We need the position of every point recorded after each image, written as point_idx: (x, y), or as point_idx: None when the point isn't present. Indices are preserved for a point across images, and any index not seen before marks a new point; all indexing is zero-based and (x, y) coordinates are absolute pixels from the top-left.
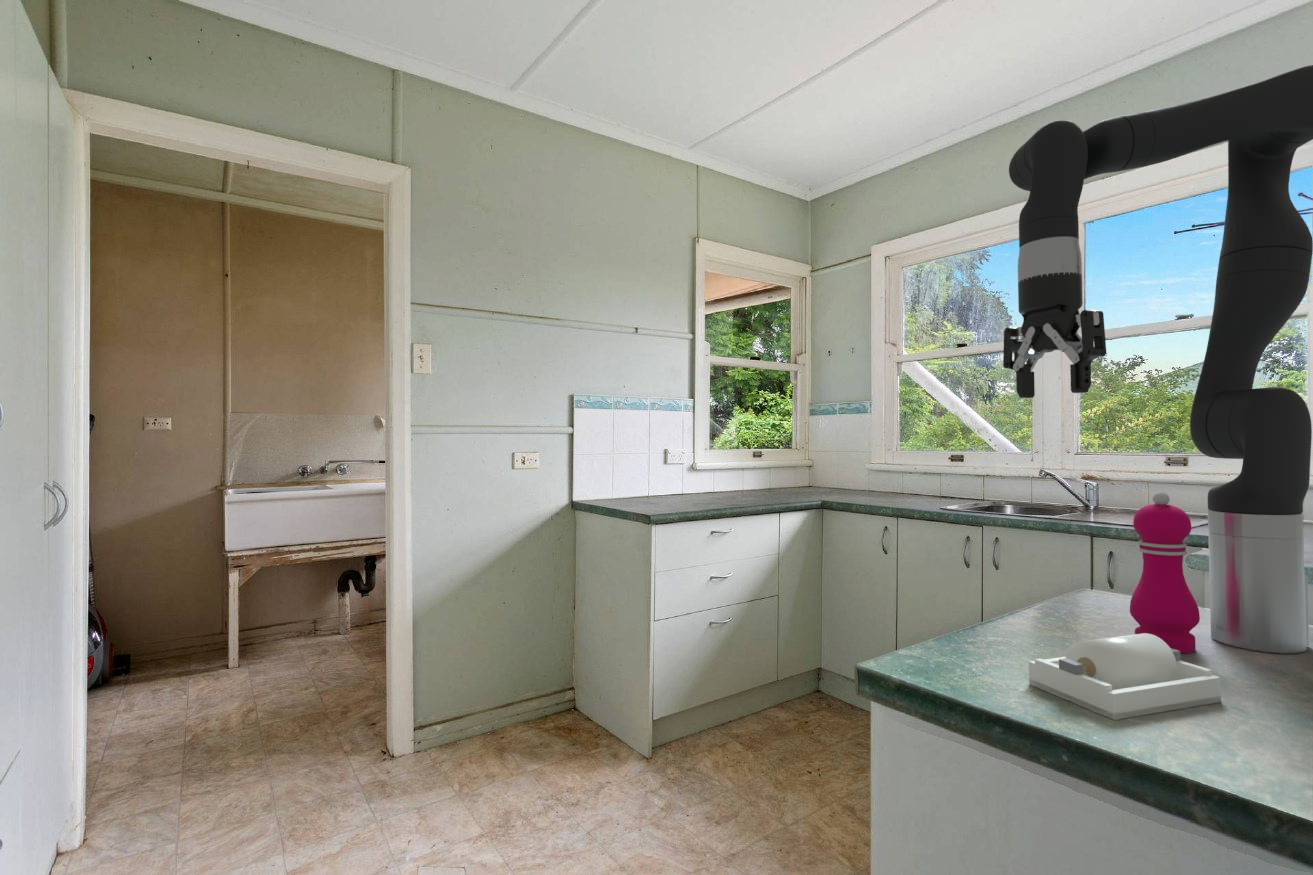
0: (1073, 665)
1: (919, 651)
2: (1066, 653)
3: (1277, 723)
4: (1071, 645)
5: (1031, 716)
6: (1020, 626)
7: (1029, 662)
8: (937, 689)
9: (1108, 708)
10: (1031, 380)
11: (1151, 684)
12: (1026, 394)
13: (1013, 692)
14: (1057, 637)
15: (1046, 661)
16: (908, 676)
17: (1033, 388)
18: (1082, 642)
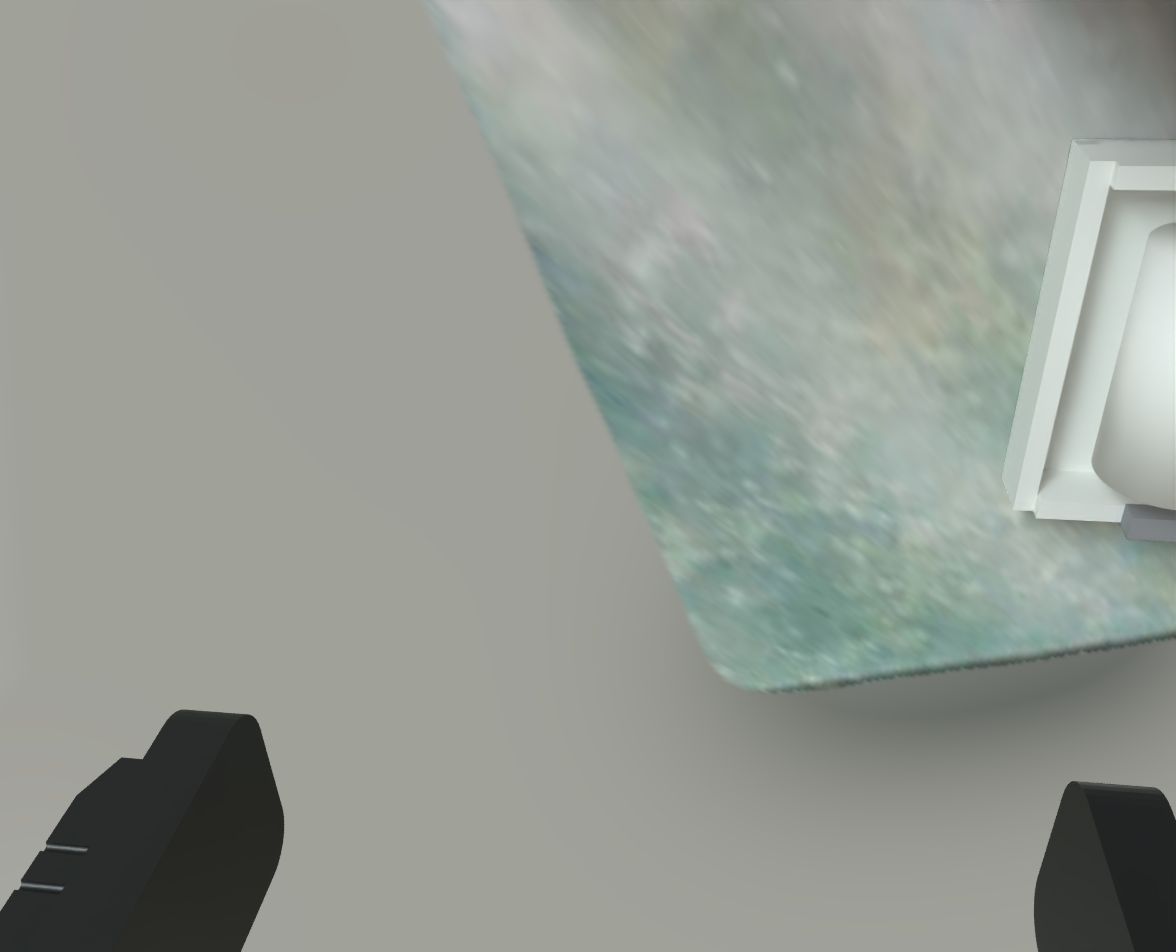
0: (1174, 541)
1: (680, 532)
2: (1102, 480)
3: None
4: (1127, 496)
5: (1132, 606)
6: (551, 53)
7: (1014, 508)
8: (920, 657)
9: None
10: (146, 943)
11: None
12: (262, 824)
13: (1018, 542)
14: (715, 39)
15: (1065, 507)
16: (826, 658)
17: (193, 807)
18: (1170, 507)
